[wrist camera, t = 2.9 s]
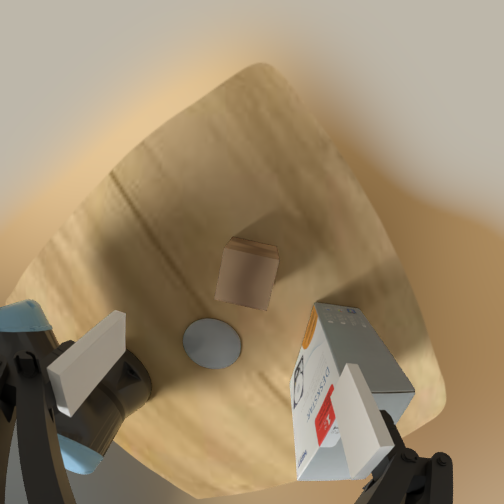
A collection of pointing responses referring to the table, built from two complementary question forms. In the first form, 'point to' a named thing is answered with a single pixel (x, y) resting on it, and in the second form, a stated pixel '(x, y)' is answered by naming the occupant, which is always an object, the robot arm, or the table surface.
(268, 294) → the walnut block
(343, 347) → the hard drive box
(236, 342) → the slate coaster
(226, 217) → the table surface
